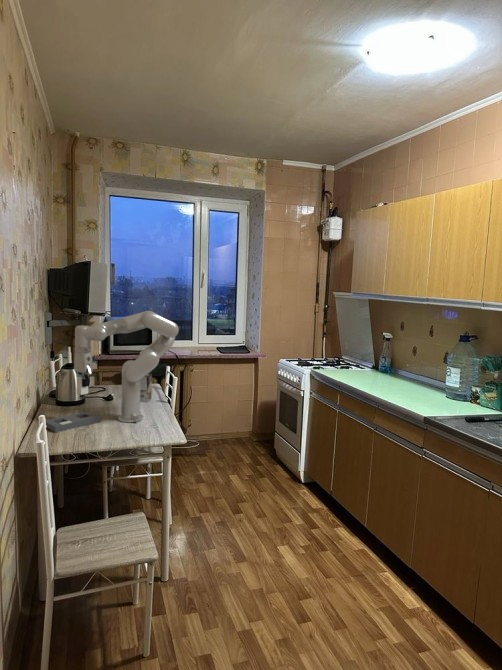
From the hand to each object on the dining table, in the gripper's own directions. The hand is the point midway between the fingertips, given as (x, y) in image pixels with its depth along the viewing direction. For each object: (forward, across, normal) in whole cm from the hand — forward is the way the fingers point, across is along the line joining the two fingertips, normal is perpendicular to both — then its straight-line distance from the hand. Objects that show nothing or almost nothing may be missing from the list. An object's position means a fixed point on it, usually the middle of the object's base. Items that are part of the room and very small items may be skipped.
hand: (82, 385), depth 226 cm
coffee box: (+19, +12, -50) cm, 55 cm away
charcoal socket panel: (+19, 0, +6) cm, 20 cm away
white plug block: (+4, 0, 0) cm, 4 cm away
